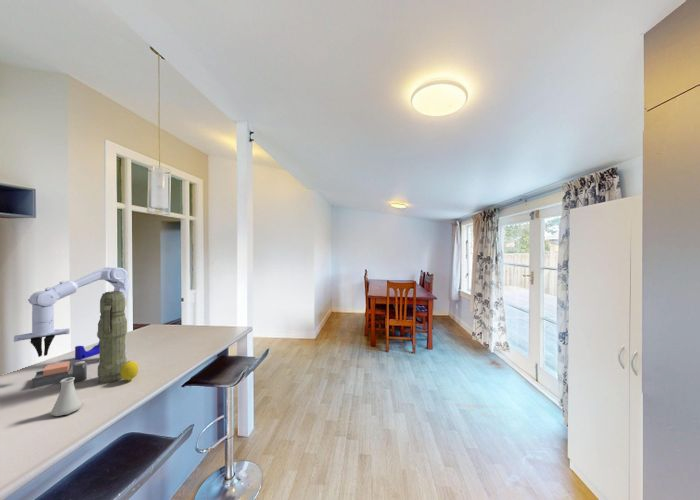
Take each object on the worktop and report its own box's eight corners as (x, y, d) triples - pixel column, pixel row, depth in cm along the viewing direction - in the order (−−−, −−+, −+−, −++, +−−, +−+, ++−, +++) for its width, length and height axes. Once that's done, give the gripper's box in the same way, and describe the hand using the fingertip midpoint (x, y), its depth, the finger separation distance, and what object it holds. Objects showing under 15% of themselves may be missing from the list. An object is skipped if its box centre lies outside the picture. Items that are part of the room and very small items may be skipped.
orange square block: (69, 366, 113) (69, 361, 113) (67, 372, 108) (67, 366, 108) (46, 371, 109) (46, 365, 109) (43, 377, 104) (43, 370, 104)
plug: (87, 376, 110) (87, 359, 110) (86, 380, 107) (86, 362, 107) (73, 380, 108) (73, 362, 108) (71, 383, 105) (71, 365, 105)
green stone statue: (93, 387, 102) (93, 295, 102) (102, 375, 112) (102, 290, 112) (123, 382, 106) (123, 293, 106) (129, 370, 116) (129, 289, 116)
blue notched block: (100, 349, 141) (100, 338, 141) (107, 350, 140) (107, 338, 140) (72, 359, 129) (72, 346, 129) (80, 359, 128) (80, 347, 128)
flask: (66, 404, 91) (66, 374, 91) (89, 403, 92) (89, 373, 92) (43, 417, 84) (43, 385, 84) (68, 416, 84) (68, 384, 84)
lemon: (118, 385, 104) (118, 364, 103) (122, 379, 108) (122, 359, 108) (136, 382, 106) (136, 361, 106) (139, 376, 111) (139, 356, 111)
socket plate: (79, 370, 116) (79, 362, 116) (76, 378, 109) (76, 370, 109) (37, 379, 108) (37, 370, 108) (31, 388, 101) (31, 379, 101)
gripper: (70, 316, 115) (70, 348, 115) (17, 322, 106) (17, 357, 106) (68, 319, 110) (68, 353, 110) (12, 326, 100) (12, 362, 100)
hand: (43, 355), depth 107 cm, fingers closed
